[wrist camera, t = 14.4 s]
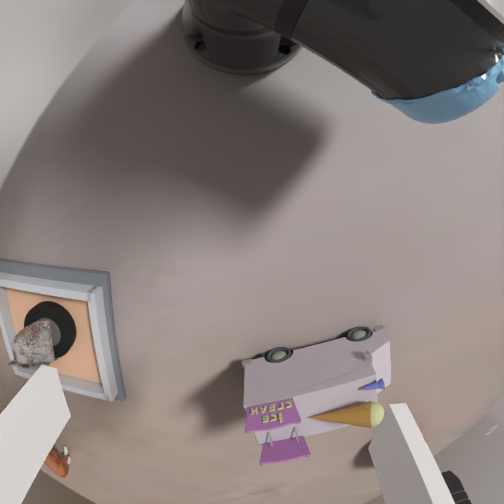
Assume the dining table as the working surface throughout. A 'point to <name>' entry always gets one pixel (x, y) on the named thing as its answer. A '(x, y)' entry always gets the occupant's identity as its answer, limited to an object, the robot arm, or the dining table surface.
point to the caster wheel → (43, 336)
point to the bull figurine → (58, 462)
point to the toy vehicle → (315, 391)
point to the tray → (83, 313)
